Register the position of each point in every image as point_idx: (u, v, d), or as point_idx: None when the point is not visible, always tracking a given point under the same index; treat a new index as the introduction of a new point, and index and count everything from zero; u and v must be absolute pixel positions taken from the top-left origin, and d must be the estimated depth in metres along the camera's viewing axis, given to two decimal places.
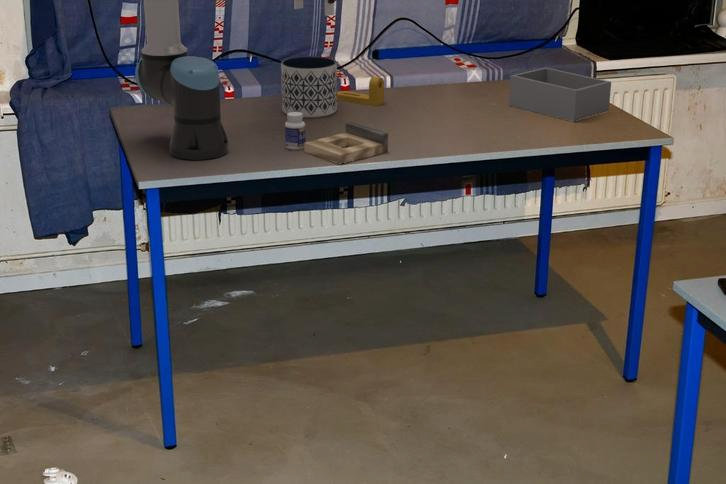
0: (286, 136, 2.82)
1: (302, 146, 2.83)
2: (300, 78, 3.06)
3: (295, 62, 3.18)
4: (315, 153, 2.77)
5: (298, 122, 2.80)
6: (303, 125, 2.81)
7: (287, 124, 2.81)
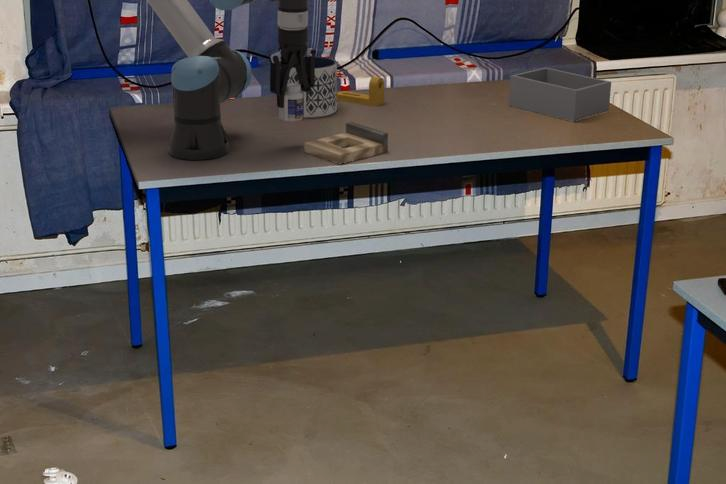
0: None
1: (299, 118, 2.80)
2: None
3: None
4: (315, 153, 2.77)
5: (296, 93, 2.78)
6: (301, 96, 2.78)
7: None
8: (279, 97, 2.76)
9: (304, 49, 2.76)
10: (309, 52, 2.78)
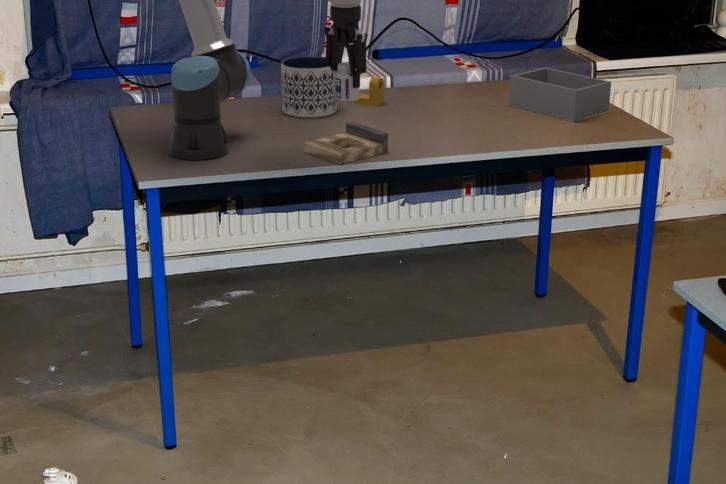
0: None
1: None
2: (300, 78, 3.06)
3: (295, 62, 3.18)
4: (315, 153, 2.77)
5: None
6: None
7: None
8: (358, 77, 2.70)
9: None
10: None
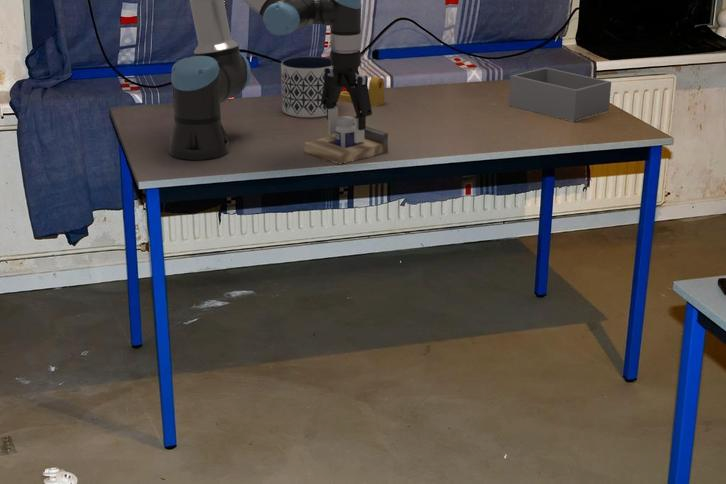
0: (351, 142, 2.77)
1: None
2: (300, 78, 3.06)
3: (295, 62, 3.18)
4: (315, 153, 2.77)
5: None
6: None
7: (351, 129, 2.76)
8: (364, 119, 2.72)
9: None
10: None
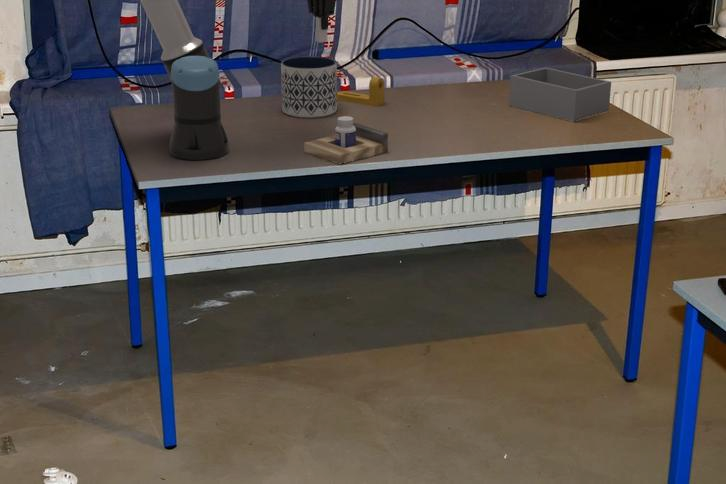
0: (351, 142, 2.77)
1: None
2: (300, 78, 3.06)
3: (295, 62, 3.18)
4: (315, 153, 2.77)
5: None
6: None
7: (351, 129, 2.76)
8: (327, 19, 2.86)
9: None
10: None
